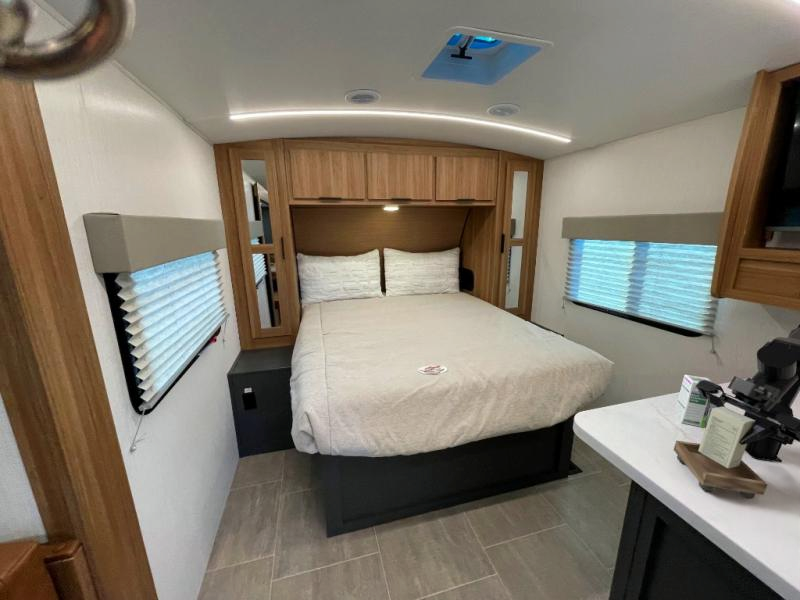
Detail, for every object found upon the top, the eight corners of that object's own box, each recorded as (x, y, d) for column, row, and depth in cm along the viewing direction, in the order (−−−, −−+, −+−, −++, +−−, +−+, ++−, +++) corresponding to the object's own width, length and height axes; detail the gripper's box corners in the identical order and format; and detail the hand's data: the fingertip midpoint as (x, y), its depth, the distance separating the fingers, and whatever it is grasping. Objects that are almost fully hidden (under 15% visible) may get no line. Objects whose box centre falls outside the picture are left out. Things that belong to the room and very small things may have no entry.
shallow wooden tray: (722, 465, 83) (728, 448, 81) (759, 503, 72) (767, 484, 71) (671, 457, 85) (676, 440, 84) (699, 493, 74) (706, 474, 73)
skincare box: (739, 466, 75) (758, 421, 72) (727, 469, 74) (746, 424, 70) (707, 447, 81) (723, 405, 78) (695, 450, 79) (712, 407, 76)
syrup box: (680, 423, 100) (693, 382, 96) (673, 412, 105) (684, 373, 101) (704, 428, 98) (717, 386, 94) (695, 417, 103) (707, 376, 99)
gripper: (710, 350, 80) (669, 395, 80) (822, 388, 63) (769, 446, 63) (722, 373, 85) (683, 416, 85) (830, 415, 68) (780, 469, 68)
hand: (723, 434), depth 75 cm, fingers closed on skincare box, 6 cm apart
